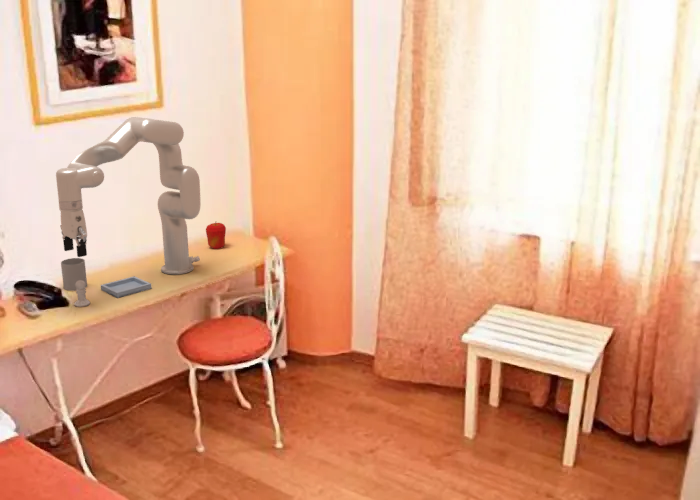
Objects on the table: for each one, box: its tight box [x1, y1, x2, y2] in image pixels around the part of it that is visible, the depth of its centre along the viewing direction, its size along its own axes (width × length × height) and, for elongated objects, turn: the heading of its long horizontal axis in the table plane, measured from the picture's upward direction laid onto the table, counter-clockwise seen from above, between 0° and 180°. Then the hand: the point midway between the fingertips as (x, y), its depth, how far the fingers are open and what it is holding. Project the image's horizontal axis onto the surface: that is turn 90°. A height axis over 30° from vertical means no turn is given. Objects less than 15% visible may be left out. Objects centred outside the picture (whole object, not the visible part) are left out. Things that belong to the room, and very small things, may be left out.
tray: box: [100, 276, 153, 299], centre depth 300 cm, size 14×12×2 cm
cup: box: [60, 257, 88, 292], centre depth 302 cm, size 8×8×10 cm
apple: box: [205, 221, 227, 250], centre depth 349 cm, size 9×8×12 cm
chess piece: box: [74, 280, 91, 308], centre depth 284 cm, size 5×5×9 cm
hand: (75, 253), depth 280 cm, fingers open, 9 cm apart
